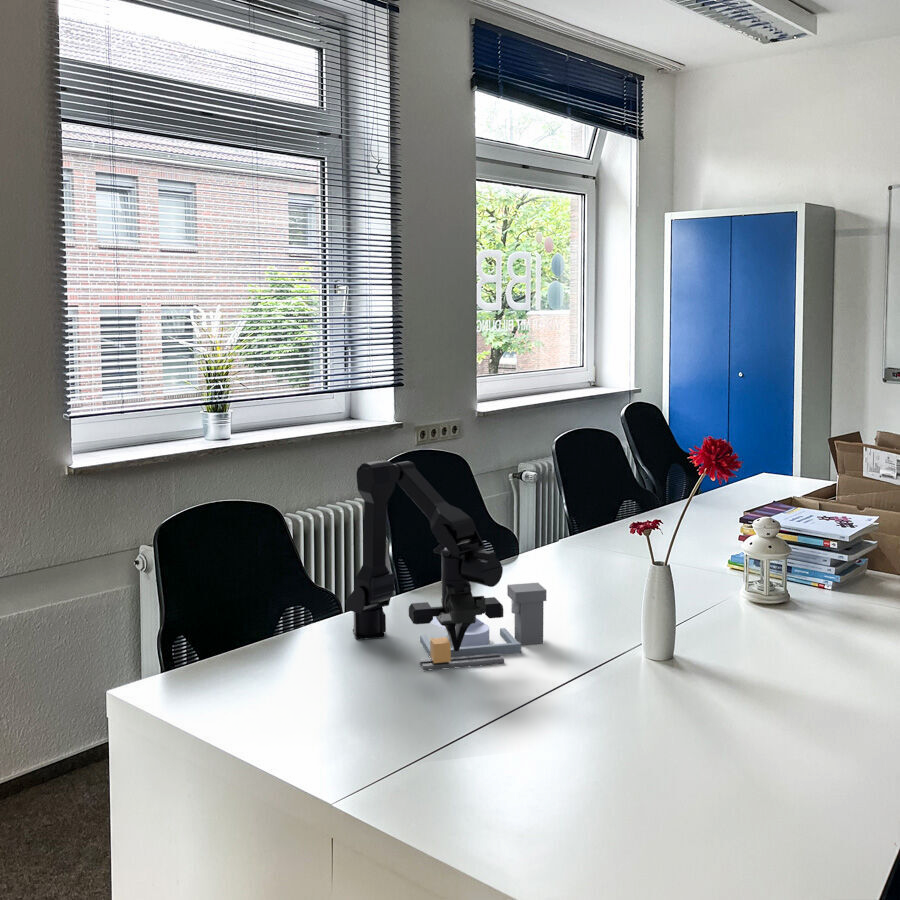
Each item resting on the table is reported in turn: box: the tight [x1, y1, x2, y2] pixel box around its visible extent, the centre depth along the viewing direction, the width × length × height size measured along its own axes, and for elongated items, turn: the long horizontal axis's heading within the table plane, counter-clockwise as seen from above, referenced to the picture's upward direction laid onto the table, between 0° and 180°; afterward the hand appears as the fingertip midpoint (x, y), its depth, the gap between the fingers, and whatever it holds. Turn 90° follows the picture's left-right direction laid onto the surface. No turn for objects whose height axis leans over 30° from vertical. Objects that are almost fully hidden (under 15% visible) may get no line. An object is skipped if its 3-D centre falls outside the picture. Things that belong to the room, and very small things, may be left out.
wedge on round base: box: [429, 616, 490, 647], centre depth 219 cm, size 9×7×13 cm
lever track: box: [419, 653, 505, 671], centre depth 205 cm, size 17×4×1 cm, turn 103°
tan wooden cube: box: [429, 636, 452, 663], centre depth 204 cm, size 4×4×5 cm
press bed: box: [419, 582, 547, 659], centre depth 215 cm, size 26×12×12 cm, turn 103°
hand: (456, 650), depth 204 cm, fingers closed
